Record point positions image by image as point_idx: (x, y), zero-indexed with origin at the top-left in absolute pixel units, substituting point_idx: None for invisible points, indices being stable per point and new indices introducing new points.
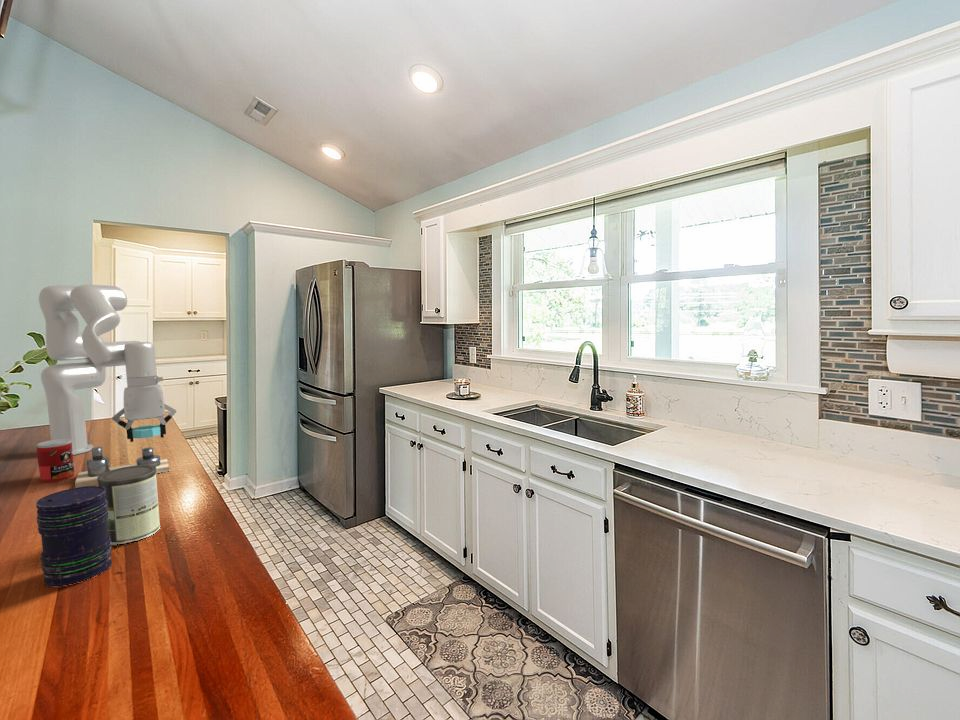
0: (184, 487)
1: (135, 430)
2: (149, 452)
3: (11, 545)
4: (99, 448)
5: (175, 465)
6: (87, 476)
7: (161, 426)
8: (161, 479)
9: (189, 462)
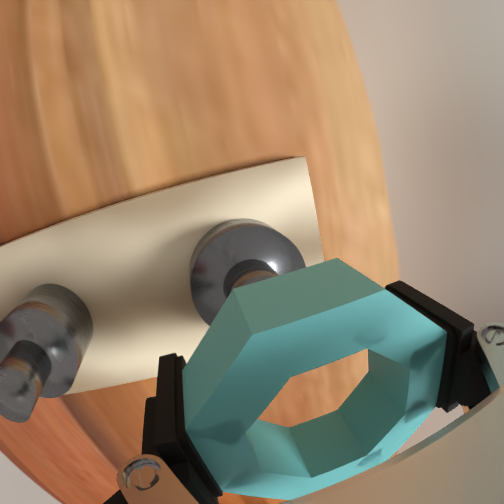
0: None
1: (253, 495)
2: None
3: None
4: (29, 417)
5: (336, 220)
6: None
7: (444, 403)
8: (305, 389)
9: (382, 196)
